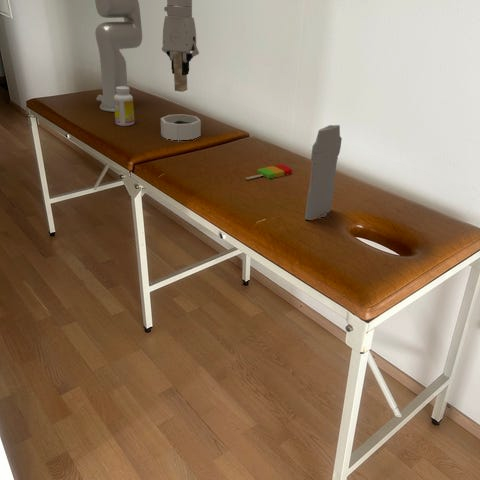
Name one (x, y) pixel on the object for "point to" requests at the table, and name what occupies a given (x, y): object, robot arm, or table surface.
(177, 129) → the grey hollow ring
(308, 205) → the gray upright slab
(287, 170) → the popsicle
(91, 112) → the table surface
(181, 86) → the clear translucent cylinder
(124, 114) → the supplement bottle
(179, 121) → the clip
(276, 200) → the table surface
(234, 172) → the table surface
